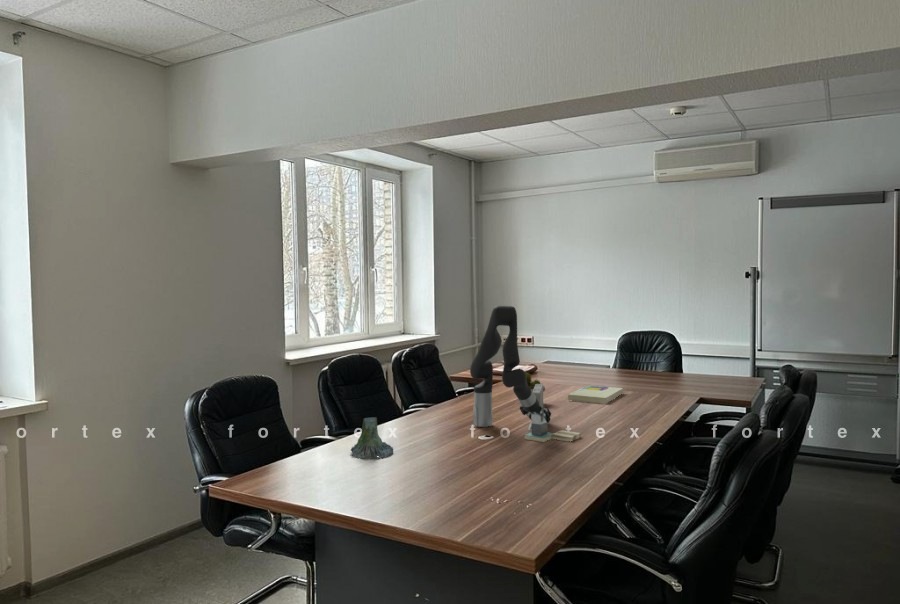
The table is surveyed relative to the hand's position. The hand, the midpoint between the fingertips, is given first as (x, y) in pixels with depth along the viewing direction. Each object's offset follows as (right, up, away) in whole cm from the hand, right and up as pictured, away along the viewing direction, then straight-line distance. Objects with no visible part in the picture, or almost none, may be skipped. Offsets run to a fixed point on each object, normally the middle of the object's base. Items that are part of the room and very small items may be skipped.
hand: (540, 419), depth 299 cm
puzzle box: (+48, -4, +95) cm, 107 cm away
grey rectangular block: (-1, -7, -1) cm, 7 cm away
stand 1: (-1, -9, -1) cm, 9 cm away
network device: (+2, -8, +21) cm, 23 cm away
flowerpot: (+6, -5, +78) cm, 78 cm away
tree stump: (-77, -11, -20) cm, 80 cm away
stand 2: (+12, -8, -1) cm, 14 cm away
